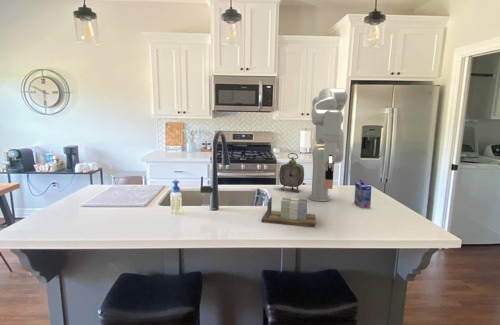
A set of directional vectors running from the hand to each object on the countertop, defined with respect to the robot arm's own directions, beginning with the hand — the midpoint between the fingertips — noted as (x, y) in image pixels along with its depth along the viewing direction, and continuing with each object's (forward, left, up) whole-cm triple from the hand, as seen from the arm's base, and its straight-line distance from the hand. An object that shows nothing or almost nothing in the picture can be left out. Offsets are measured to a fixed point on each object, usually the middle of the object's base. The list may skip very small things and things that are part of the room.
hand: (328, 177), depth 134 cm
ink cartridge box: (-33, +20, -22) cm, 44 cm away
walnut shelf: (+1, -17, -21) cm, 27 cm away
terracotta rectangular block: (0, 0, -4) cm, 4 cm away
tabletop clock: (-55, -21, -22) cm, 62 cm away
